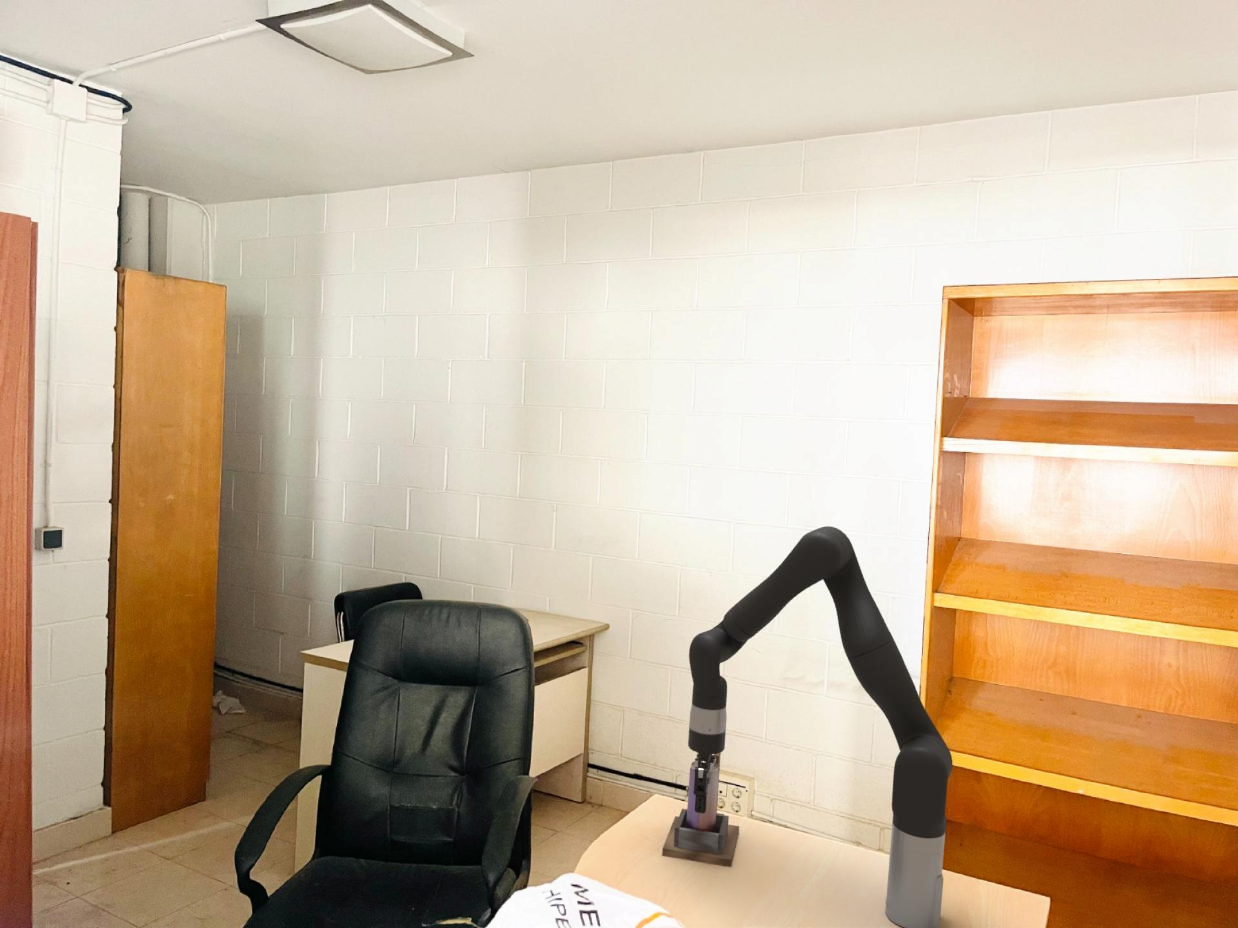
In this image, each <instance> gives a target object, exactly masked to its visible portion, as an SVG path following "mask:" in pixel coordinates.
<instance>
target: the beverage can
mask: <svg viewBox="0 0 1238 928" xmlns="http://www.w3.org/2000/svg"><path fill="white" fill-rule="evenodd" d="M694 763H695V760H694V761H692V762H691V763H690V768H689V775H688V776H689V778H688V792H687V806H686V807H687V808H686V809H687V822H686V828H688V829H694V830H700V831H707V832H713V833H715V824H716V808H717V809H718V802H717V793H718V794H719V787H718V778H719V779H720V771H718V765H717V764H715V765H714V769H713V770H712V775H711V783H710V784H708V794H707V801H706V812H705V813H697V812H695V798H696V795H694V793H693V791H694V774H695V771H694V769H695V766H694ZM708 777H709V772H708V775H707V779H708ZM698 788H699V789H704V786H701V785H698Z"/></svg>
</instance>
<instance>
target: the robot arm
mask: <svg viewBox="0 0 1238 928" xmlns="http://www.w3.org/2000/svg"><path fill="white" fill-rule="evenodd" d="M821 581H823V582H824V584H825V586H826V588H827V591H829V594H830V596H831V598H832V600H833V604H834V606H835V610H836V616H837V622H838V623H837V624H838V630H839V633H840V639H841V644H842V647H843V650H844V654H845V656H846V657H847V660H848V662H849V664H850V667H851V668H852V671H853V673H854V675H855V677H856V678H857V681H858V682H859V684H860V685H861V687H862V688H863V689H864V691H865V692H866V693H867V694H868V696H869V697H870V698H871V699H872V701H873V702H874V703H875V704H876V705H877V706H878V708H879V709H880V710H881V712H882V713H883V715H884V716H885V718H886V719H887V721H888V723H889V726H890V728H891V730H892V733H893V736H894V738H895V740H896V744H897V746H898V749H899V752H898V754H897V756H896V759H895V761H894V767H893V775H892V776H893V777H892V793H891V795H892V796H891V809H892V810H891V811H892V822H891V835H890V836H891V837H890V845H889V846H890V848H889V860H888V861H889V862H888V871H887V886H886V887H887V888H886V896H885V897H886V898H885V911H884V912H885V914H886V917H887V918H888V919H890V921H892V922H893V923H894V924H896V925H898V926H900V927H903V928H940V927H941V926H940V925H941V914H942V901H943V900H942V899H943V892H944V891H943V890H944V889H943V888H944V876H943V864H944V853H945V851H944V850H945V838H946V827H947V817H946V803H947V792H948V782H949V781H948V780H949V778H950V776H951V774H952V771H953V758H952V757H953V756H952V754H951V752H950V751H951V750H950V749H949V747H948V745H947V743H946V742H945V740H944V738H943V737H942V735H941V733H940V732H939V730H938V728H937V727H936V725H935V724H934V722H933V720H932V719H931V717H930V716H929V713H928V712H927V710H926V708H925V706H924V704H923V702H922V700H921V697H920V695H919V693H918V690H917V688H916V685H915V683H914V681H913V679H912V677H911V674H910V672H909V670H908V668H907V664H906V662H905V661H904V658H903V656H902V654H901V651H900V649H899V647H898V645H897V643H896V641H895V639H894V636H893V635H892V633H891V631H890V629H889V627H888V626H887V623H886V621H885V619H884V617H883V615H882V612H881V611H880V609H879V607H878V605H877V603H876V601H875V600H874V598H873V596H872V594H871V591H870V590H869V587H868V585H867V582H866V579H865V578H864V575H863V572H862V570H861V566H860V563H859V560H858V557H857V554H856V552H855V549H854V547H853V544H852V541H851V540H850V538H849V537H848V535H847V534H846V533H845V532H844V531H842V530H841V529H839V528H837V527H834V526H829V525H827V526H822V527H819V528H815V529H814V530H811V531H809V532H807V533H805V534H804V535H803V536H801V538H800V539H799V540H798V542H797V543H796V544H795V546H794V547H793V548H792V549H791V551H790V552H789V553H788V554H787V556H786V557H785V558H784V560H783V561H782V562H780V564H779V565H778V566H777V567H776V569H775V570H774V571H773V572H772V573H771V574H770V575H769V576H768V577H766V578H765V579H764V580H762V582H760V584H758V585H757V586H755V588H753V589H752V590H750V592H748V593H747V594H746V595H744V597H742V598H741V599H740V600H739V601H738V602H736V604H734V605H733V606H732V607H731V608H729V610H727V612H726V613H725V614H724V616H723V619H722V620H721V621H720V622H719V623H718V624H716V625H715V626H713V627H712V628H711V629H709V630H705V631H703V632H700V633H697V634H696V635H695V636H694V637H693V639H692V640H691V642H690V646H689V650H688V651H689V652H688V661H689V667H690V673H691V678H692V685H693V686H692V696H691V697H692V698H691V708H690V711H689V721H688V722H689V727H688V738H687V739H688V741H687V746H688V749H690V750H691V751H693V752H695V753H696V757H695V758H694V761H695V763H694V766H695V769H694V771H695V774H694V791H693V793H694V795H696V798H695V812H697V813H705V812H706V801H707V794H708V784H710V783H711V775H712V770H713V769H714V765H715V762H716V756H715V754H718V753H721V754H722V752H723V751H725V748H726V732H727V718H728V717H727V700H728V698H727V697H728V683H727V680H726V678H725V677H723V676H722V675H721V671H720V665H721V664H722V663H725V662H727V661H728V660H730V659H731V658H732V657H733V656H735V655H736V654H737V653H738V652H739V651H740V650H741V649H742V648H743V647H744V645H745V644H746V643H747V642H748V641H749V640H750V639H752V638H753V637H755V635H757V634H758V633H759V632H760V631H761V630H763V629H764V628H765V627H766V626H768V624H770V623H771V621H773V620H774V619H775V618H776V617H777V616H778V615H779V614H780V613H781V612H782V610H784V608H786V606H787V605H789V603H790V602H791V601H792V600H793V599H794V598H796V597H797V596H798V595H799V594H801V593H802V592H804V591H805V590H807V589H808V588H811V587H812V586H814V585H815V584H817V583H819V582H821ZM708 772H709V777H708V779H707V775H708ZM698 785H701V786H704V789H699V788H698Z"/></svg>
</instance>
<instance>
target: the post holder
mask: <svg viewBox="0 0 1238 928" xmlns="http://www.w3.org/2000/svg"><path fill="white" fill-rule="evenodd" d="M721 754H722V752H721V753H718V754H715V756H716V762H715V764H717V765H718V771H719V772H720V770H721ZM719 782H720V777H719V778H718V788H720V787H719V786H720V785H719V784H720V783H719ZM718 798H719V792H718V793H717V803H718V800H719V799H718ZM679 813H680V814H679V815H678V816H677V815H675V816H674V818H673V822H672V823H671V826H670V828H669V831H668V834H667V835H666V838H665V842H664V844H663V845H662V851H661V853H662V856H665V857H670V858H675V859H682V860H687V861H693V862H699V863H700V862H701V863H705V864H710V865H712V864H713V865H718V866H723V867H729V868H731V867H732V864H733V860H734V857H735V851H736V848H737V842H738V838H739V835H740V834H739V833H740V825H739V826H738V825H734V824H729V818H730V816H729V815H725V813H718V807H717V808H716V824H715V833H713V832H707V831H700V830H694V829H688V828H686V822H687V808H682V809H681V811H680V812H679Z"/></svg>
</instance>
